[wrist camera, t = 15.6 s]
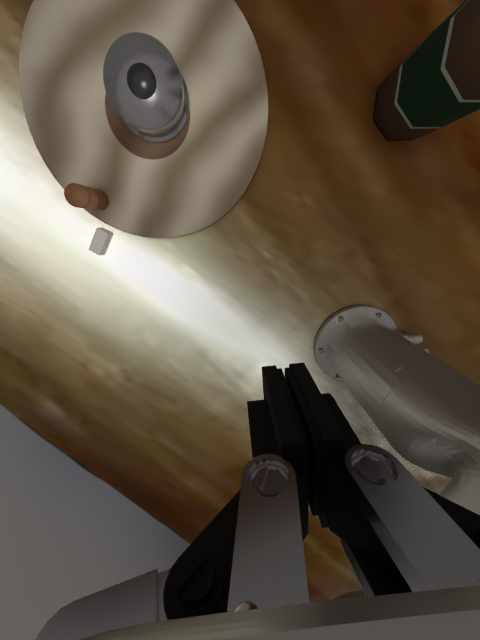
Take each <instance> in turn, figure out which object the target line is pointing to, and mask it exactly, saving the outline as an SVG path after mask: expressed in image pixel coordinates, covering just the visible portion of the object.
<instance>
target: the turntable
mask: <svg viewBox="0 0 480 640" xmlns="http://www.w3.org/2000/svg"><path fill="white" fill-rule="evenodd" d="M132 32H141V33H145V34H148V35H151V36H153V37H154V38H156V39H158V40H159V41H160V42H161V43H163V45H164V46H165V47H166V48H167V49H168V50H169V52H170V53H171V55H172V56H173V58H174V60H175V62H176V65H177V68H178V69H179V71H180V72H181V74H182V76H183V78H184V80H185V83H186V86H187V89H188V93H189V99H190V111H189V117H188V120H187V123H186V125H185V127H184V129H183V130H182V132H181V133H180V134H179V135H178V136H177V137H175V138H174V139H172V140H171V141H168V142H165V143H151V142H148V141H145V140H143V139H141V138H140V137H138V136H137V135H135V134H134V133H133V132H132V131H131V130H130V129H129V128H128V127H127V125H126V124H125V123H124V121H123V120H122V118H121V116H120V114H119V113H118V112H117V111H116V110H115V108H114V107H113V106H112V104H111V102H110V100H109V98H108V96H107V93H106V90H105V86H104V81H103V66H104V60H105V57H106V54H107V52H108V50H109V48H110V46H111V45H112V44H113V43H114V41H116V40H117V39H118V38H119V37H121V36H122V35H125V34H127V33H132ZM19 80H20V92H21V97H22V103H23V109H24V112H25V116H26V119H27V123H28V126H29V129H30V132H31V134H32V137H33V139H34V142H35V144H36V147H37V149H38V151H39V153H40V154H41V156H42V158H43V160H44V162H45V164H46V165H47V167H48V168H49V170H50V171H51V173H52V174H53V176H54V177H55V179H56V180H57V181H58V183H59V184H60V185H61V186H62V187H63V189H64V190H65V191H64V194H65V198H66V200H67V201H68V203H69V204H71V205H72V206H74V207H79V208H84V209H85V210H86V211H88V212H89V213H90V214H91V215H93V216H95V217H96V218H98V219H99V220H101V221H102V222H104V223H106V224H108V225H110V226H112V227H114V228H116V229H118V230H121V231H124V232H127V233H130V234H134V235H139V236H144V237H153V238H168V237H177V236H182V235H187V234H190V233H193V232H196V231H199V230H201V229H203V228H205V227H207V226H209V225H211V224H213V223H214V222H215V221H217V220H218V219H220V218H221V217H222V216H224V215H225V214H226V213H227V212H228V211H229V210H230V209H231V208H232V207H233V206H234V205H235V204H236V203H237V201H238V200H239V199H240V198H241V196H242V195H243V193H244V192H245V190H246V189H247V187H248V185H249V184H250V182H251V180H252V178H253V176H254V173H255V171H256V169H257V167H258V164H259V161H260V158H261V155H262V152H263V148H264V143H265V138H266V133H267V122H268V93H267V85H266V77H265V72H264V68H263V64H262V59H261V55H260V52H259V50H258V47H257V44H256V41H255V38H254V36H253V33H252V31H251V29H250V27H249V25H248V23H247V21H246V19H245V17H244V15H243V14H242V12H241V11H240V9H239V7H238V6H237V4H236V3H235V1H234V0H34V1H33V3H32V5H31V7H30V9H29V12H28V15H27V18H26V22H25V25H24V28H23V33H22V39H21V45H20V55H19Z"/></svg>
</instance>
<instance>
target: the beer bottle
mask: <svg viewBox="0 0 480 640" xmlns="http://www.w3.org/2000/svg"><path fill="white" fill-rule="evenodd" d="M479 109H480V0H466V1H465V2H464V3H462V4H461V5H460V6H459V7H458V8H457V9H456V10H455V11H454V12H453V13H452V14H451V15H450V16H449V17H448V18H447V19H446V20H445V21H444V22H443V23H442V24H440V25H439V26H438V27H437V28H436V29H435V30H434V31H433V32H432V33H431V34H430V35H429V36H428V37H427V38H426V39H425V40H424V41H423V42H422V43H421V44H419V45H418V46H417V47H416V48H415V49H414V50H413V51H412V52H411V53H410V54H409V55H408V56H407V57H406V58H405V60H404V61H403V62H402V63H401V64H400V65H399V66H398V67H397V68H396V69H395V70H394V71H393V72H392V74H391V75H390V76H389V77H388V78H387V79H386V80H385V81H384V82H383V83H382V84H381V85H380V87H379V88H378V93H377V101H376V108H375V116H374V120H375V122H376V123H377V125H378V126H379V128H380V129H381V131H382V132H383V133H384V135H385V136H386V138H387V139H388V140H412V139H415V138H418V137H421V136H423V135H425V134H427V133H430V132H432V131H434V130H436V129H438V128H440V127H442V126H445V125H447V124H449V123H451V122H453V121H455V120H457V119H460V118H462V117H464V116H466V115H468V114H470V113H472V112H475V111H477V110H479Z"/></svg>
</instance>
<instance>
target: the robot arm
mask: <svg viewBox="0 0 480 640" xmlns="http://www.w3.org/2000/svg"><path fill="white" fill-rule="evenodd" d="M376 313H377V314H376ZM339 316H340V317H339ZM338 317H339V318H338ZM422 341H423V337H422V335H421V334H411V335H405V334H403V333H402V332H400V331H398V329H397V326H396V324H395V322H394V320H393V319H392V318H391V317H390V316H389V315H388V314H387V313H385V312H384V311H382V310H380V309H378V308H376V307H373V306H370V305H354V306H350V307H346V308H344V309H342V310H340V311H338V312H336V313H335V314H333V315H332V316H330V317H329V318H328V319H327V320H326V321H325V322H324V324H323V325H322V326H321V328H320V330H319V332H318V334H317V336H316V340H315V345H314V352H315V357H316V360H317V362H318V364H319V366H320V367H321V369H322V370H323V371H324V372H325V373H326V374H327V375H328V376H330V377H331V378H333V379H335V380H339V381H343V382H344V383H345V384H346V385H347V387H348V388H349V389H350V391H351V392H352V393H353V395H354V396H355V397H356V399H357V400H358V402H359V403H360V404H361V406H362V407H363V408H364V410H365V411H366V412H367V414H368V415H369V416H370V418H371V419H372V420H373V422H374V423H375V424H376V426H377V427H378V429H379V430H380V431H381V433H382V434H383V435H384V437H385V438H386V439H387V441H388V442H389V443H390V445H391V446H392V447H393V448H394V449H395V450H396V451H397V452H398V453H399V454H400V455H401V456H402V457H403V458H405V459H406V460H408V461H409V462H411V463H413V464H414V465H416V466H419V467H421V468H423V469H425V470H428V471H431V472H434V473H437V474H440V475H444V476H448V477H451V478H452V480H451V482H450V483H449V484H448V485H447V486H446V487H445V488H444V489H443V490H442V491H441V492H440V493H439V494H436V493H434V492H432V491H430V490H428V489H426V488H424V487H422V486H421V485H420V483H419V482H418V481H417V480H416V479H415V478H414V477H413V476H412V475H411V474H410V473H409V471H408V470H407V469H406V468H405V467H404V466H403V465H402V464H401V463H400V462H399V461H398V459H396V458H395V457H394V456H393V455H392V454H391V453H389V452H387V451H386V450H384V449H382V448H379V447H377V446H374V445H367V444H361V443H360V441H359V439H358V438H357V436H356V434H355V433H354V431H353V429H352V428H351V426H350V424H349V423H348V421H347V420H346V418H345V416H344V415H343V413H342V411H341V410H340V408H339V406H338V405H337V403H336V401H335V400H334V398H333V397H332V395H331V394H329V393H327V394H321V393H320V391H319V389H318V388H317V386H316V384H315V382H314V380H313V378H312V377H311V375H310V373H309V371H308V369H307V368H306V366H305V364H304V363H295V364H290V365H289V368H285V377H284V374H283V372H282V369H277V368H276V366H265V367H262V376H263V391H264V400H257V401H247V405H248V415H249V426H250V436H251V445H252V455H253V459H252V460H250V461H249V462H248V463H247V465H246V466H245V468H244V471H243V474H242V481H241V489H240V491H239V492H238V493H237V494H236V495H235V496H234V497H233V498H232V499H231V500H230V502H229V503H228V504H227V505H226V506H225V507H224V508H223V509H222V510H221V512H220V513H219V514H218V515H217V516H216V517H215V518H214V519H213V520H212V521H211V523H210V524H209V525H208V526H207V527H206V528H205V529H204V530H203V531H202V533H201V534H200V535H199V536H198V537H197V538H196V539H195V540H194V541H193V542H192V544H191V545H190V546H189V547H188V548H187V549H186V550H185V552H183V554H182V555H181V556H180V557H179V558H178V560H177V561H176V562H175V564H174V565H173V566H172V568H170V569H168V570H165V571H163V572H160V573H158V572H157V569H155V570H152V571H150V572H147V573H145V574H142V575H140V576H137V577H134V578H132V579H129V580H127V581H124V582H121V583H119V584H116V585H114V586H111V587H109V588H106V589H103V590H101V591H98V592H96V593H93V594H90V595H88V596H85V597H83V598H80V599H78V600H75V601H73V602H71V603H69V604H68V605H66V606H64V607H62V608H61V609H60V610H59V611H58V612H57V613H56V614H55V615H54V616H53V617H52V618H50V619H49V620H48V621H47V623H46V624H45V626H44V627H43V629H42V630H41V632H40V633H39V634H38V636H37V637H36V640H480V385H479V384H477V383H475V382H474V381H472V380H471V379H469V378H468V377H466V376H464V375H463V374H461V373H460V372H458V371H456V370H455V369H453V368H452V367H450V366H448V365H447V364H445V363H444V362H442V361H441V360H439V359H437V358H436V357H434V356H433V355H431V354H430V352H429V350H428V349H427V348H426V347H418V346H417V345H415V344H418V343H422ZM319 348H320V349H319ZM308 502H309V506H310V509H311V512H312V515H313V516H316V515H318V516H319V519H320V522H321V526H322V528H324V527H329V529H330V531H332V532H333V533H334V534H336V535H337V536H338V537H340V541H341V544H342V547H343V550H344V552H345V554H346V556H347V558H348V560H349V562H350V564H351V566H352V568H353V570H354V572H355V574H356V576H357V578H358V580H359V582H360V584H361V587H362V589H363V590H364V593H365V595H366V597H362V598H352V599H343V600H334V601H324V602H315V603H309V599H308V589H307V579H306V569H305V559H304V549H303V540H304V539H305V537H306V535H307V534H308Z"/></svg>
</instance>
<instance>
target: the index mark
mask: <svg viewBox="0 0 480 640" xmlns="http://www.w3.org/2000/svg"><path fill="white" fill-rule="evenodd" d="M112 235H113V233H112V232H110V231H108V230H106V229H104V228H97V229H96V232H95V234H94V237H93V240H92V242H91V245H90V248H89V250H90V251H92V252H94V253H96V254H98V255H103V254H105V253H106V250H107V248H108V245H109V243H110V240H111V238H112Z"/></svg>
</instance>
